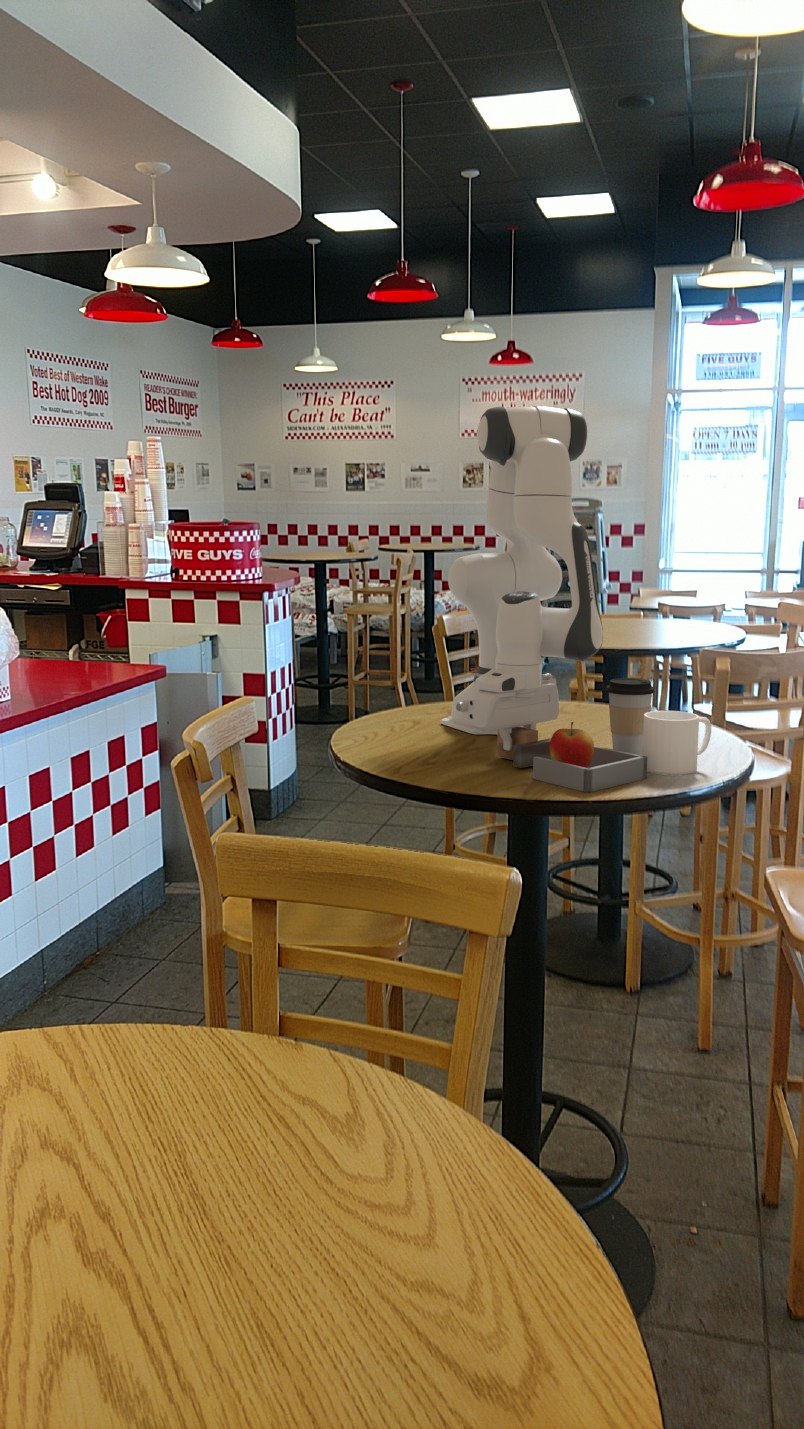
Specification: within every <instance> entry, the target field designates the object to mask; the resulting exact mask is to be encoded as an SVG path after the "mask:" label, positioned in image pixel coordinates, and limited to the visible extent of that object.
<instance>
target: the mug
mask: <svg viewBox="0 0 804 1429" xmlns="http://www.w3.org/2000/svg"><path fill="white" fill-rule="evenodd" d="M700 722H702V723H704V727H705V728H704V737H703V739H702V742H701V744H700V746H699V731H700V730H699V729H700ZM711 735H712V723H711V721H710V719H708V718H707V717H706V716H700V715H698V714H696V713H692V712H687V711H679V710H655V711H654V710H652V711H651V712H647V713H645V714H644V726H643V752H642V756H646V757H647V773H651V774H656V775H661V776H662V775H663V776H687V775H691V774H694V773H696V772H697V770H698V756H700V755H702V754H703V753H704V752H705V751H706V749H707V748H708V746H709V744H710V741H711Z"/></svg>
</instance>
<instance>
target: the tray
mask: <svg viewBox="0 0 804 1429" xmlns="http://www.w3.org/2000/svg"><path fill="white" fill-rule="evenodd" d="M532 768H533V769H532V779H534V780H537V781H539V782H544V783H548V784H552V785H555V786H560V787H563V788H567V789H572V790H576V791H579V792H584V793H588V794H589V793H592V792H597V791H601V790H604V789H608V788H613V787H616V786H617V787H618V786H620V785H621V786H622V785H624V784H628V783H629V784H630V783H633V782H637V781H640V780H646V779H647V774H648V772H647V757H646V756H642V755H637V754H632V753H627V752H622V751H618V750H613V748H607V747H603V746H597V745H594V754H593V758H592V761H591V763H590V765H589V767H588V768H585V767H581V766H576V765H572V764H568V763H563V762H559V761H555V760H550V759H546V758H542V757H533V766H532Z"/></svg>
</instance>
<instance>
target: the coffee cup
mask: <svg viewBox="0 0 804 1429" xmlns="http://www.w3.org/2000/svg"><path fill="white" fill-rule="evenodd" d="M605 692H606V693H608V700H609V701H608V702H609V704H608V710H609V723H610V724H609V727H610V732H611V739H612V740H611V741H612V743H611V744H612V749H613V750H618V751H622V752H627V753H632V754H637V755H642V752H643V726H644V714H645V713H647V712H652V711H651V710H652V700H653V699H652V698H653V694H654V693H656V692H655V687H654V686H652V680H651V681H650V680H648V679H643V678H632V677H631V678H630V677H620V678H619V677H618V678H613V679H610V680H609V684H608V685H606V689H605Z"/></svg>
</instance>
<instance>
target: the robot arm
mask: <svg viewBox="0 0 804 1429" xmlns="http://www.w3.org/2000/svg"><path fill="white" fill-rule="evenodd" d="M476 434H477V435H476V437H477V439H476V440H477V443H478V450H479V452H481V454H482V455H483V456H484V457H485V458H486V459H488V460H490V461H491V462H492V463H491V467H490V468H491V469H490V471H489V472H490V474H489V480H488V490H487V499H486V509H485V522H486V525H487V526H488V528H489V529H490V531H491V532H493V533H494V534H495V535H497V536H499V537H500V538H502V539H504V540H505V541H506V542H505V543H506V552H486V553H485V552H484V553H483V552H479V553H478V552H477V553H472V554H468V555H465V556H461V557H458V558H456V559H455V560H454V561H453V563H452V564H451V566H450V568H449V570H448V574H447V576H448V577H447V583H448V584H447V585H448V588H449V590H450V593H451V595H452V596H453V597H454V599H456V600H457V601H458V602H459V603H460V604H461V605H463V606H464V608H466V610H468V612H469V614H470V615H471V617H472V619H473V621H474V622H475V626H476V630H477V636H478V637H477V638H478V648H479V649H478V654H479V657H478V658H479V660H478V662H479V665H478V666H477V667H474V668H470V670H471V672H470V674H471V675H472V674H474V676H473V682H472V683H470V684H469V685H468V686H467V687H466V688H464V689H463V690H462V691H461V692H460V693H458V694H457V695H456V696H455V697H454V698H453V700H452V706H451V716H450V715H449V716H446V717H444V718H442V719H441V720H440V724H441V725H443V726H447V727H449V728H453V729H456V730H459V731H461V732H462V731H463V732H465V733H469V734H472V735H497V730H499V734H500V736H501V738H502V740H503V748H504V750H508V751H509V750H513V749H514V745H515V741H513V740H512V739H511V737H510V734H509V733H512V727H523V728H528V729H533V730H536V729H537V724H541V723H546V722H551V721H552V722H553V721H557V719H558V717H559V716H560V701H559V699H560V698H559V691H558V687H557V679H556V677H554V675H552V674H551V673H545V674H542V672H543V669H542V667H543V661H542V657H545V658H546V657H547V658H548V657H549V658H562V659H567V660H573V661H579V662H585V661H587V660H588V659H590V658H592V657H593V656H595V655H596V654H597V653H598V652H599V651H600V650H601V648H602V645H603V642H604V627H603V622H602V618H601V614H600V609H599V604H598V597H597V591H596V582H595V581H596V579H595V571H594V564H593V557H592V551H591V544H590V539H589V536H588V532H587V529H586V527H585V526H584V525H582V524H581V523H579V522H578V519H577V518H576V515H575V514H574V510H573V503H572V496H573V494H572V493H573V491H572V490H573V489H572V488H573V484H572V479H573V478H572V468H571V462H574V461H576V460H577V459H578V458H579V457H580V456H582V454H583V453H584V451H585V449H586V445H587V440H588V425H587V421H586V419H585V417H584V415H583V414H582V413H581V412H580V411H577V410H575V409H570V408H568V407H567V408H566V407H565V408H557V407H550V406H543V405H533V406H512V407H505V406H496V407H491V408H487V409H486V411H484V413H483V414H482V415H481V417H480V420H479V424H478V426H477V433H476ZM548 549H549V550H551V551H552V552H554V553H556V554H557V555H559V556H560V557H561V559H563V561H564V562H565V564H566V567H567V571H568V579H569V580H568V581H569V587H570V588H569V590H570V596H571V607H568V608H563V607H562V608H561V607H547V606H544V605H542V604H541V601H546V600H549V599H552V598H554V597H555V596H556V595H557V593H558V592H559V591H560V588H561V586H562V584H563V583H562V582H563V572H562V567H561V565H560V563H559V562H558V560H557V559H556V557H555V556H553V555H552V554H551V553H550V552H549V551H548Z"/></svg>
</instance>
